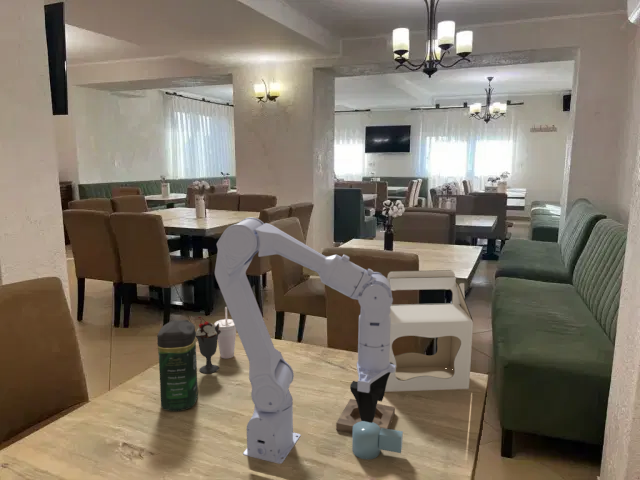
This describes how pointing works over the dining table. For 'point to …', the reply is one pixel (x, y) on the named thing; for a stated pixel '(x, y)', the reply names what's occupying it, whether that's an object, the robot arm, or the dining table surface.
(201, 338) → the sundae
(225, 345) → the smoothie
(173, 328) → the coffee jar
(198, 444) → the dining table surface
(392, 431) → the light blue piece
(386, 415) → the holder
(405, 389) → the gable box
